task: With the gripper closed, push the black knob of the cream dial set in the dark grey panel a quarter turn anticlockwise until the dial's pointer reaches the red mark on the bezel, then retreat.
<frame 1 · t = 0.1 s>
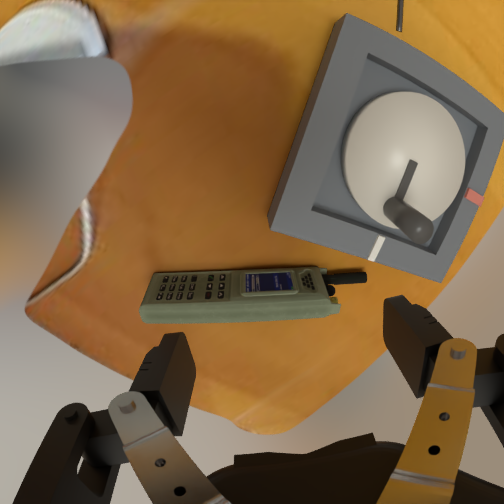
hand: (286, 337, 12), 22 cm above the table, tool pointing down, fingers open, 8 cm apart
handheld radio: (259, 276, 37), on the table
panel: (395, 155, 31), on the table
dial: (423, 167, 25), point 6 cm above the table, hinge at 0.0°
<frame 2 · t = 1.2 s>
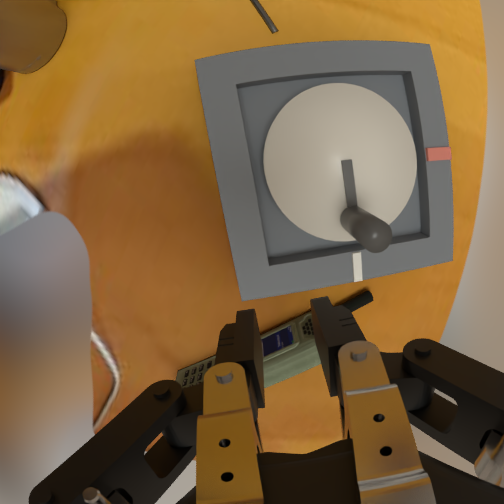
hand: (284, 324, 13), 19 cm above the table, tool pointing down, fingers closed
handheld radio: (269, 338, 36), on the table
panel: (334, 160, 29), on the table
dial: (353, 163, 23), point 6 cm above the table, hinge at 0.0°
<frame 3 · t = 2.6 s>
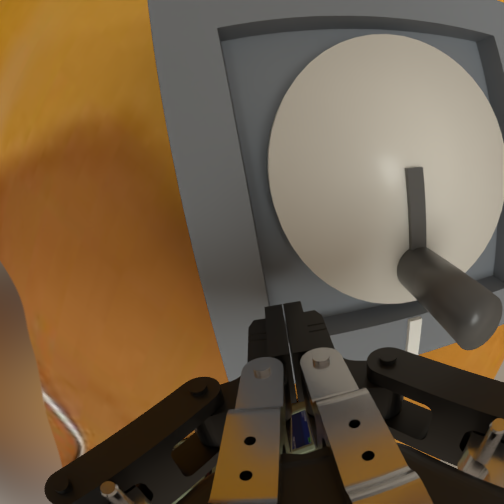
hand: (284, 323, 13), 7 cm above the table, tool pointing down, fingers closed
handheld radio: (274, 417, 24), on the table
panel: (381, 165, 17), on the table
dial: (435, 176, 11), point 6 cm above the table, hinge at 0.0°
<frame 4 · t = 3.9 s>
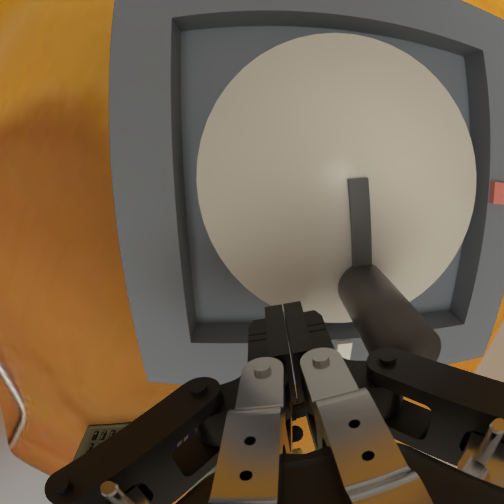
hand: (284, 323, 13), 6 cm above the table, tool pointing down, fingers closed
handheld radio: (203, 419, 24), on the table
panel: (335, 174, 17), on the table
dial: (374, 188, 11), point 6 cm above the table, hinge at 6.5°, touching gripper
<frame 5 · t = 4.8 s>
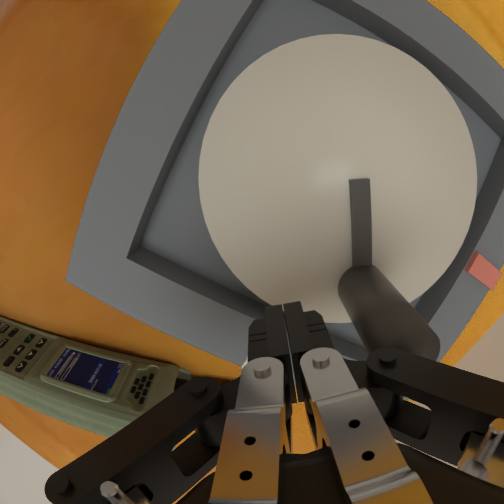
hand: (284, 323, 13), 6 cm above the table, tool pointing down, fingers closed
handheld radio: (96, 355, 22), on the table
panel: (336, 175, 17), on the table
dial: (375, 189, 11), point 6 cm above the table, hinge at 33.7°, touching gripper
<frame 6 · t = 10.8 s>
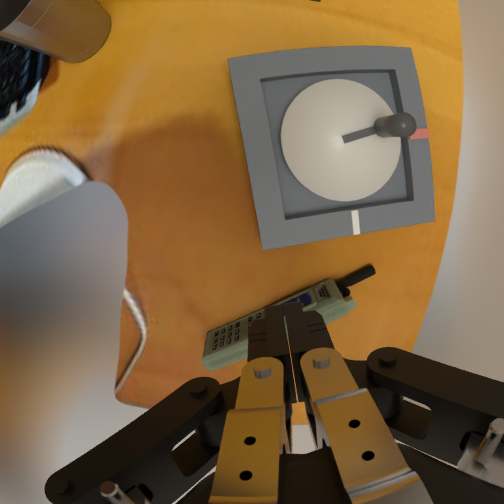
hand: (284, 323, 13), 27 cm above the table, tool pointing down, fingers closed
handheld radio: (289, 304, 43), on the table
panel: (335, 140, 36), on the table
dial: (350, 138, 30), point 6 cm above the table, hinge at 101.0°
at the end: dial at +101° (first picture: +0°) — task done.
